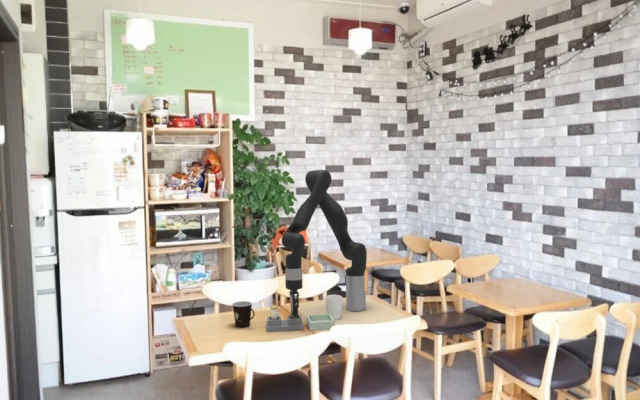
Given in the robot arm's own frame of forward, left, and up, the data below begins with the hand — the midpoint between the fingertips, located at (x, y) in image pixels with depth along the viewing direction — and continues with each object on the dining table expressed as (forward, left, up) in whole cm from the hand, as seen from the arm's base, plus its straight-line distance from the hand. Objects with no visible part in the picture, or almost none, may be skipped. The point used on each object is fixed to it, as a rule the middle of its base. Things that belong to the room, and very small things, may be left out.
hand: (294, 313), depth 232 cm
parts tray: (-12, 0, -6) cm, 13 cm away
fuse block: (+4, 0, -6) cm, 8 cm away
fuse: (+9, 0, -4) cm, 10 cm away
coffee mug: (+22, -5, -6) cm, 24 cm away
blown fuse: (0, 0, -4) cm, 4 cm away
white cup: (-20, -10, -6) cm, 23 cm away
